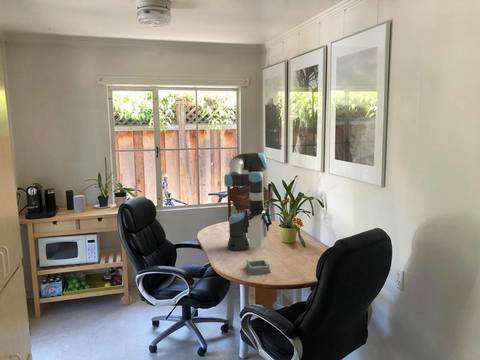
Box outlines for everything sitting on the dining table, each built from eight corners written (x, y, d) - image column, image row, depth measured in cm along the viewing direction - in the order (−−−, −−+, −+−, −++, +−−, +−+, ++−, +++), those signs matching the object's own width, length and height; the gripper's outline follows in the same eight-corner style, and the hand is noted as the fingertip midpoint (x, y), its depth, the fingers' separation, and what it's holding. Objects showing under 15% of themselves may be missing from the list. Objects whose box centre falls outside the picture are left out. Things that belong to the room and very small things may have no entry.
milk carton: (261, 247, 216) (260, 214, 213) (249, 245, 219) (248, 213, 216) (265, 243, 223) (264, 211, 220) (253, 242, 225) (252, 210, 222)
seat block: (245, 266, 228) (245, 258, 227) (265, 264, 230) (265, 257, 229) (250, 274, 216) (249, 266, 215) (270, 272, 218) (270, 264, 218)
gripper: (237, 202, 211) (239, 241, 214) (277, 199, 215) (277, 237, 218) (235, 199, 218) (236, 237, 222) (273, 196, 222) (274, 234, 226)
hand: (257, 237), depth 220 cm, fingers closed on milk carton, 10 cm apart
